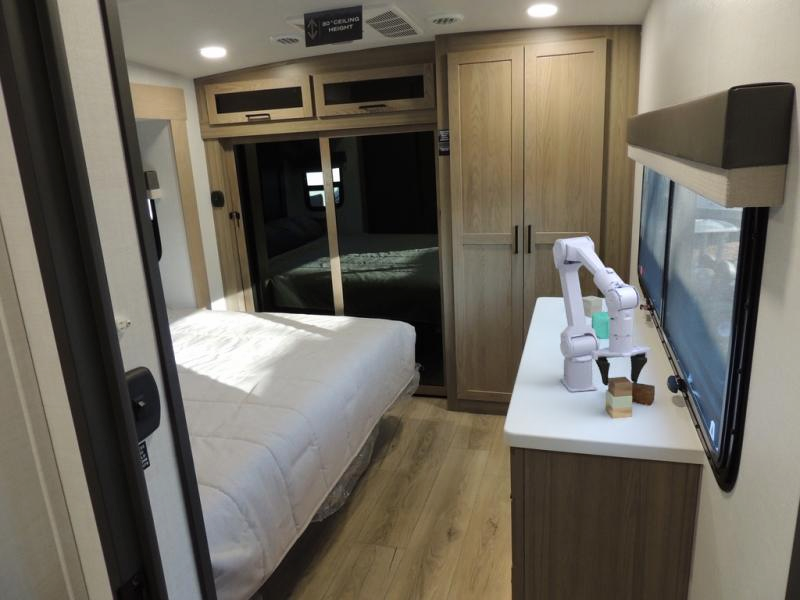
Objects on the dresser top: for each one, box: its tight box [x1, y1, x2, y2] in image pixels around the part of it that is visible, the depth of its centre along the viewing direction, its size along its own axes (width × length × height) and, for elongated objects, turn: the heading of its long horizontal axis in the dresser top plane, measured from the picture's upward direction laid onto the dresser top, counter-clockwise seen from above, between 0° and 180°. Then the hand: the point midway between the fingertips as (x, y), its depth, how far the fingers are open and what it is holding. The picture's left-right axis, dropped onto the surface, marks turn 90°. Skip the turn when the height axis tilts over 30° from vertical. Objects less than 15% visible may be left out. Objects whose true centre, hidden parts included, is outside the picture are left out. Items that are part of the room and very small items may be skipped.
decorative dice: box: [591, 311, 610, 340], centre depth 214 cm, size 8×8×8 cm
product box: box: [582, 295, 603, 319], centre depth 240 cm, size 6×6×7 cm
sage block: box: [605, 389, 633, 408], centre depth 153 cm, size 5×5×3 cm
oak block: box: [605, 400, 633, 419], centre depth 154 cm, size 5×5×3 cm
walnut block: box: [607, 376, 633, 397], centre depth 153 cm, size 4×4×4 cm
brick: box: [631, 381, 656, 406], centre depth 162 cm, size 11×4×5 cm, turn 55°
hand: (619, 382), depth 153 cm, fingers open, 7 cm apart
